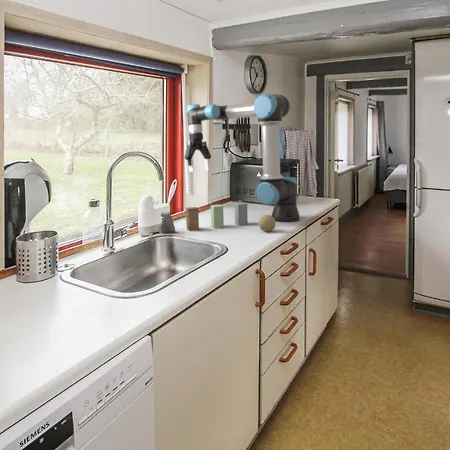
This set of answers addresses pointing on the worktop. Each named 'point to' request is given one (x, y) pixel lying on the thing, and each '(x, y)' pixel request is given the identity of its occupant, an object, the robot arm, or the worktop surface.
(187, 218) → the walnut block
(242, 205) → the slate grey block
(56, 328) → the worktop surface
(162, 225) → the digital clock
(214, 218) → the sage green block
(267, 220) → the potato
